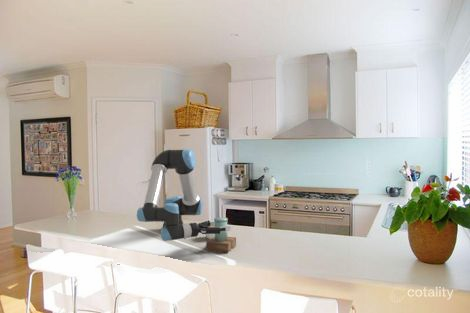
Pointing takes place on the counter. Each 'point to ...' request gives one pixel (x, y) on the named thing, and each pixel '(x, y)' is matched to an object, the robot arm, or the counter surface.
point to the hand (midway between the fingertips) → (225, 225)
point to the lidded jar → (210, 234)
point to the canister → (220, 223)
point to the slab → (221, 245)
